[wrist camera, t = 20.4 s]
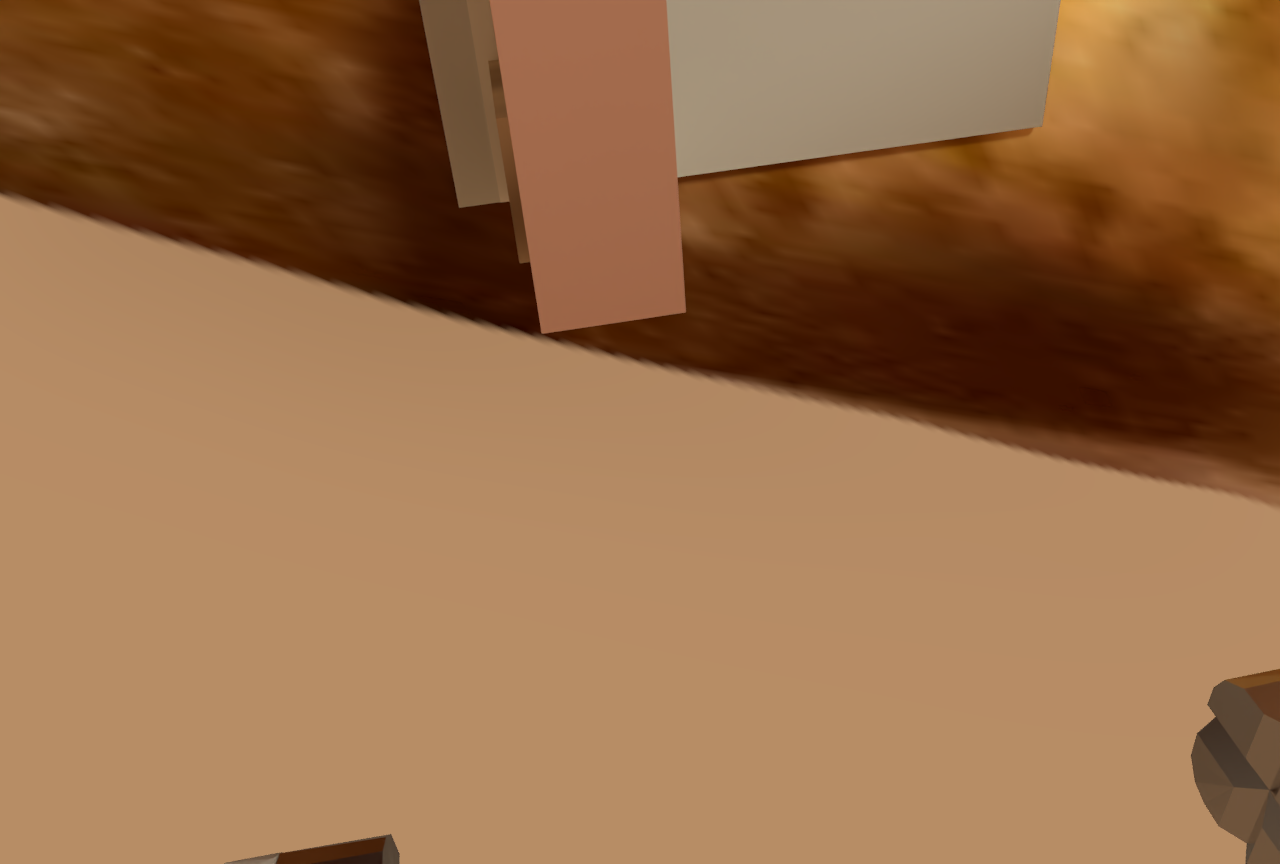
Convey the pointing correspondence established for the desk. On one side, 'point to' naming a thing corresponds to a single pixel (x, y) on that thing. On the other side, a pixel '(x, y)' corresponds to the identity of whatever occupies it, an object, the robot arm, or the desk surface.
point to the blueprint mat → (784, 79)
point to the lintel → (594, 156)
